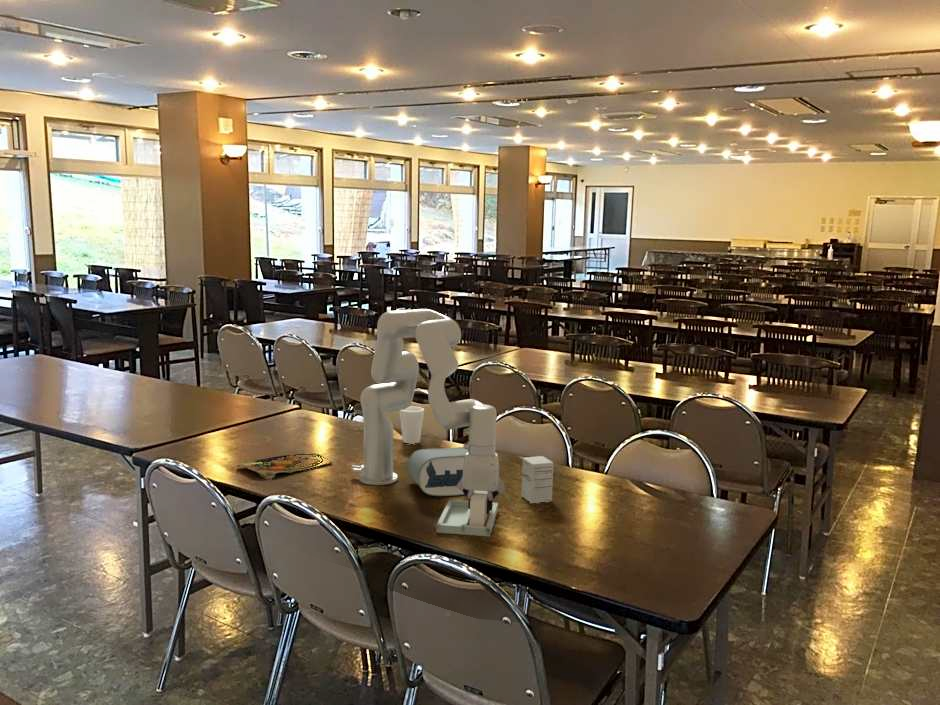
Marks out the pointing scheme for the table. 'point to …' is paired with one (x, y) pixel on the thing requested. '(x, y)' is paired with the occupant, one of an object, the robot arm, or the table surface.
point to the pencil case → (438, 470)
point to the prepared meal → (279, 464)
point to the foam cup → (411, 423)
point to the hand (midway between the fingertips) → (480, 511)
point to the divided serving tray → (464, 519)
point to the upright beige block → (478, 508)
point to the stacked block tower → (537, 479)
